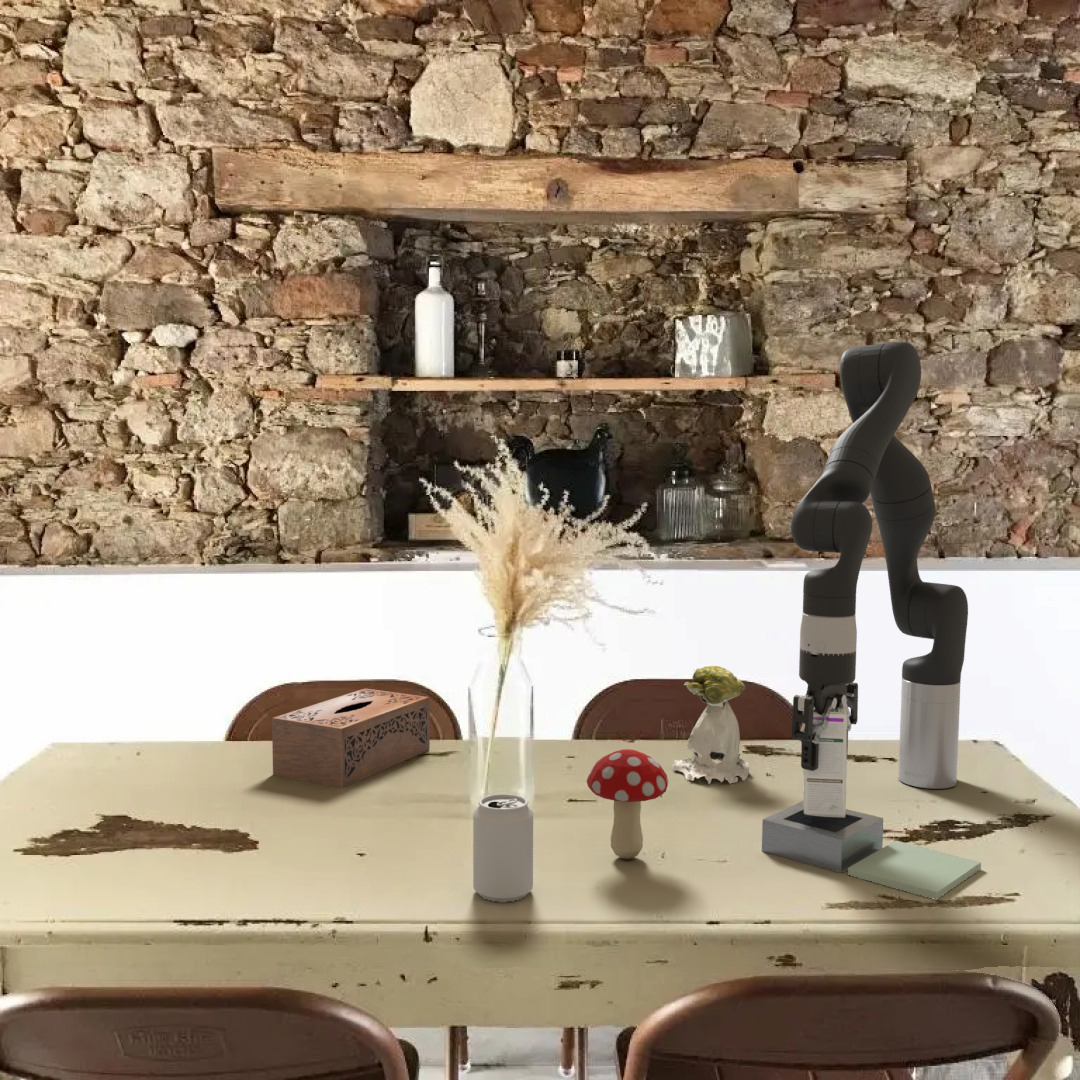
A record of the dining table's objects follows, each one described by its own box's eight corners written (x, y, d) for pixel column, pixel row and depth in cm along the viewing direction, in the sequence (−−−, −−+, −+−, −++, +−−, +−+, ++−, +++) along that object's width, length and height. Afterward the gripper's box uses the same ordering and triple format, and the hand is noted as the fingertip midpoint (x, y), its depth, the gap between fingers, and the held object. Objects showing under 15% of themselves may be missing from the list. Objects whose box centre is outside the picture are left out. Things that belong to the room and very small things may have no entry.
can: (472, 882, 150) (472, 791, 149) (530, 880, 150) (531, 790, 149) (474, 906, 142) (474, 810, 141) (535, 904, 143) (535, 808, 142)
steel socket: (805, 829, 170) (806, 799, 170) (882, 849, 162) (883, 818, 162) (761, 851, 161) (762, 819, 161) (840, 873, 153) (841, 840, 153)
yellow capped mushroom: (727, 760, 206) (729, 657, 204) (762, 781, 194) (765, 672, 192) (664, 765, 202) (666, 661, 201) (696, 787, 190) (698, 676, 188)
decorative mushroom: (608, 878, 151) (609, 765, 150) (572, 850, 161) (573, 744, 160) (682, 866, 156) (684, 756, 154) (642, 839, 166) (644, 736, 164)
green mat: (895, 847, 163) (895, 840, 163) (980, 869, 155) (981, 862, 155) (847, 875, 153) (848, 867, 153) (936, 900, 145) (936, 892, 145)
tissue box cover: (365, 740, 219) (364, 688, 218) (429, 751, 212) (429, 697, 211) (272, 776, 196) (272, 717, 195) (341, 789, 189) (341, 728, 188)
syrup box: (846, 818, 158) (849, 713, 157) (801, 815, 159) (804, 711, 158) (844, 805, 164) (847, 703, 162) (801, 802, 165) (803, 701, 163)
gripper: (828, 636, 167) (825, 748, 169) (776, 649, 157) (773, 768, 158) (877, 643, 162) (873, 757, 164) (827, 657, 152) (823, 779, 153)
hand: (824, 762), depth 161 cm, fingers closed on syrup box, 8 cm apart
